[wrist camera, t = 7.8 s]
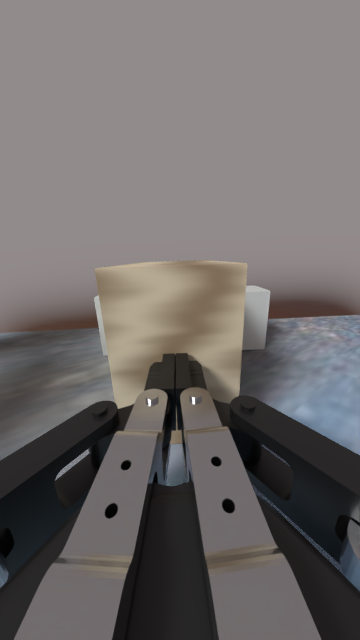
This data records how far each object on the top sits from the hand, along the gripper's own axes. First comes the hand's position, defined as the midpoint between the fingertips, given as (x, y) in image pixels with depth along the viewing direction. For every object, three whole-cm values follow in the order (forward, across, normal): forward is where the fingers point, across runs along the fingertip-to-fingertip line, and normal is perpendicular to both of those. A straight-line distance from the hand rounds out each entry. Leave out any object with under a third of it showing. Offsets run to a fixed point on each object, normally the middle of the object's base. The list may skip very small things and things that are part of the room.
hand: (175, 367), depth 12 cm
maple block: (+7, 0, +6) cm, 9 cm away
